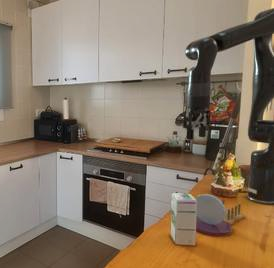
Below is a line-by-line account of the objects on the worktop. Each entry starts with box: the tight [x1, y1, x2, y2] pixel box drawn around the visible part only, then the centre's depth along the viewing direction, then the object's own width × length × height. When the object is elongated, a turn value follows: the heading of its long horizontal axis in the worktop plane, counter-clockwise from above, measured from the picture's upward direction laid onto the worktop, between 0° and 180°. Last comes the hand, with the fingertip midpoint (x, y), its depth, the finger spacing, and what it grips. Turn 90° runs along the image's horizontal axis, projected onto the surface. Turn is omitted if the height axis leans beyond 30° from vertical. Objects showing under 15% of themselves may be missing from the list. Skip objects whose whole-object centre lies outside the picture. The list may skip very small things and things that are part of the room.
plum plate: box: [196, 215, 233, 237], centre depth 93 cm, size 13×13×1 cm
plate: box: [195, 193, 226, 225], centre depth 92 cm, size 1×10×10 cm, turn 31°
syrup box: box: [170, 192, 197, 246], centre depth 84 cm, size 6×6×14 cm
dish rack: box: [221, 198, 245, 226], centre depth 99 cm, size 10×8×5 cm
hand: (196, 138), depth 103 cm, fingers open, 8 cm apart
